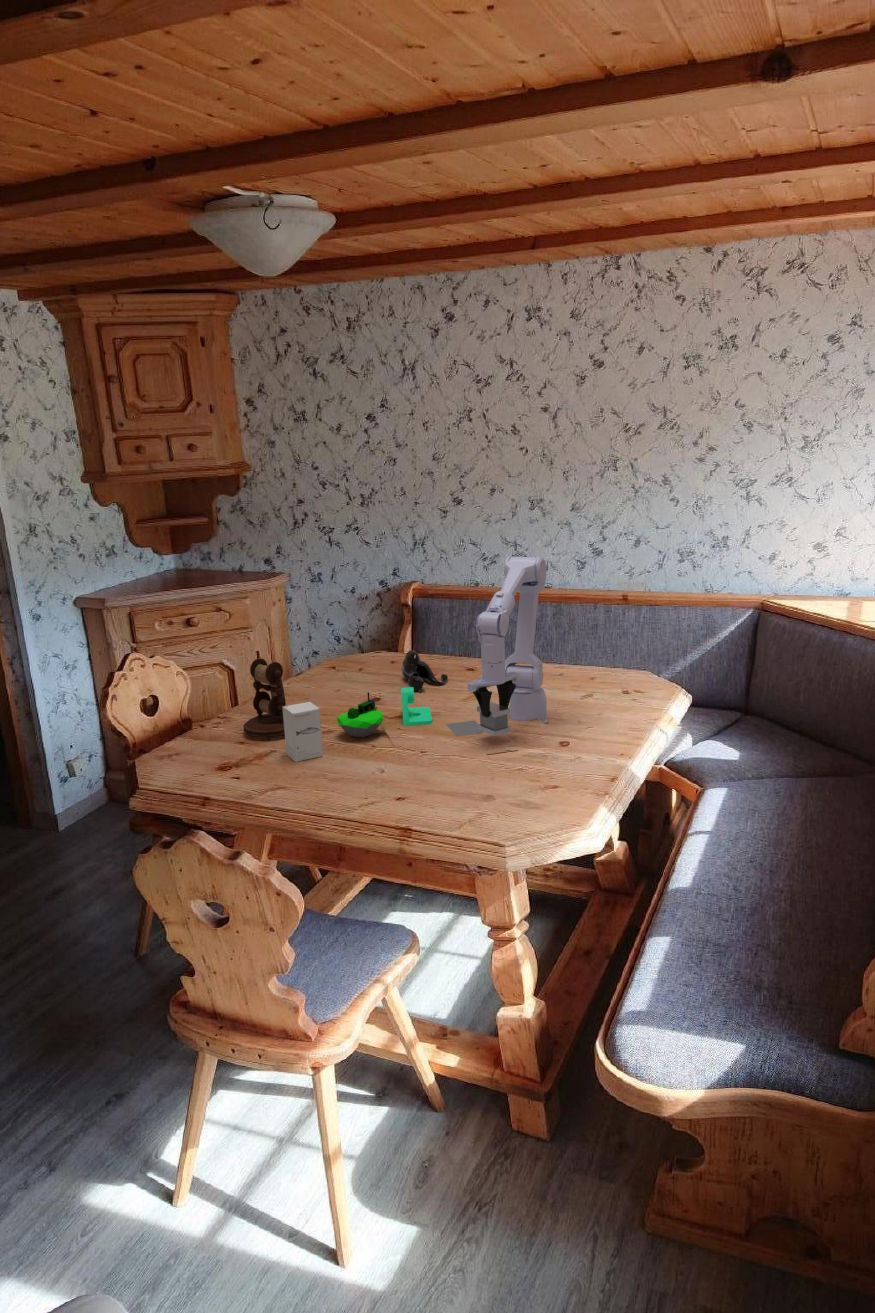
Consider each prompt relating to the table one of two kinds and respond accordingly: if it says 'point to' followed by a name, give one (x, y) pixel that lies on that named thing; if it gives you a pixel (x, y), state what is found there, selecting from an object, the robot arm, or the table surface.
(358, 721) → the green floating island model
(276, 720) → the brown upright round-based piece
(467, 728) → the stand
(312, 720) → the supplement box
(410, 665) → the cat figurine
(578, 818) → the table surface
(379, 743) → the table surface
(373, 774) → the table surface
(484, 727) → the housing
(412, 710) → the camera mount
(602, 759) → the table surface
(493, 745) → the stand
